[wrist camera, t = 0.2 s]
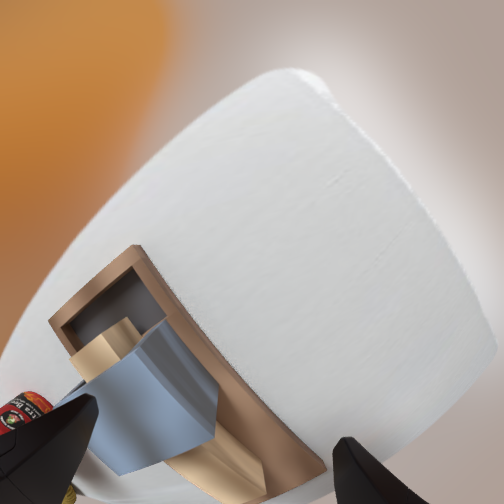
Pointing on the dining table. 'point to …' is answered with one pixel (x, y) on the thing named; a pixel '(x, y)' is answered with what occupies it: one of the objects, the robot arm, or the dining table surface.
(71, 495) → the sculpture
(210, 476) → the beech bar
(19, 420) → the canned food
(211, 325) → the dining table surface
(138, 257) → the track
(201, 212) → the dining table surface
